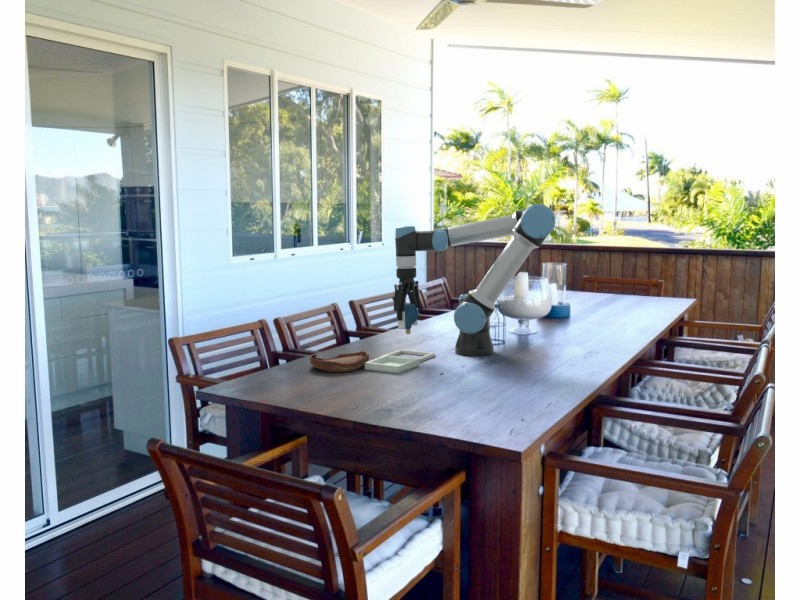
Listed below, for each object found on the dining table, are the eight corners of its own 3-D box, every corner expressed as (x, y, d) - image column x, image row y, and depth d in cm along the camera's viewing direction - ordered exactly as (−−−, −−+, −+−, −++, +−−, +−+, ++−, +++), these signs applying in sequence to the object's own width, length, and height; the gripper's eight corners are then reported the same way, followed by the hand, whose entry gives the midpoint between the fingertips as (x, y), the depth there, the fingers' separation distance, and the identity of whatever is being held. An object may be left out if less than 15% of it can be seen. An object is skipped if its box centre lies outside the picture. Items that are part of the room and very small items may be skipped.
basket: (346, 358, 268) (346, 345, 267) (382, 366, 254) (382, 352, 253) (299, 368, 252) (298, 355, 252) (334, 377, 238) (334, 363, 238)
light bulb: (417, 336, 260) (416, 304, 258) (395, 336, 261) (394, 304, 260) (420, 332, 268) (420, 301, 266) (399, 332, 269) (398, 301, 268)
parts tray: (418, 365, 252) (418, 358, 252) (398, 373, 240) (398, 366, 240) (386, 361, 260) (386, 355, 259) (364, 369, 248) (364, 362, 248)
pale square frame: (435, 356, 268) (435, 353, 268) (414, 364, 255) (414, 360, 255) (401, 352, 276) (401, 349, 276) (379, 359, 263) (379, 356, 263)
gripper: (412, 264, 272) (413, 322, 275) (382, 269, 254) (384, 330, 257) (428, 265, 268) (430, 323, 271) (399, 270, 250) (401, 332, 253)
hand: (407, 326), depth 264 cm, fingers closed on light bulb, 8 cm apart
